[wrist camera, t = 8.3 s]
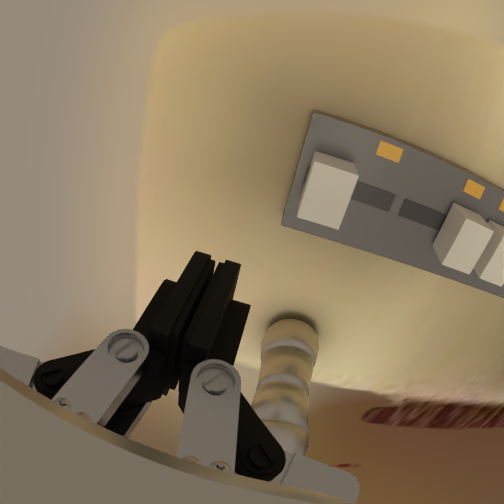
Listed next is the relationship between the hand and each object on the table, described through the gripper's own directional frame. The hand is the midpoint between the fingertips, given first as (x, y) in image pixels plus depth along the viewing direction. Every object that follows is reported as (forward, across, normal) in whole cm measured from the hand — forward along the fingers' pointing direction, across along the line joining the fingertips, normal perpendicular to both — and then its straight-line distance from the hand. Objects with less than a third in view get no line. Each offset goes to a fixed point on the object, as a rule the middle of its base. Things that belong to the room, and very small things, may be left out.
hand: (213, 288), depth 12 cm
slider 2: (+15, -17, 0) cm, 23 cm away
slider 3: (+15, -22, 0) cm, 26 cm away
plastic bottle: (+18, -7, +19) cm, 27 cm away
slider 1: (+15, -5, 0) cm, 16 cm away
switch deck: (+18, -15, 0) cm, 23 cm away
